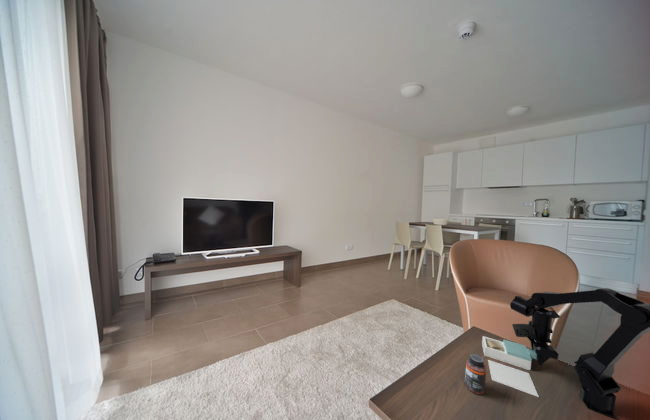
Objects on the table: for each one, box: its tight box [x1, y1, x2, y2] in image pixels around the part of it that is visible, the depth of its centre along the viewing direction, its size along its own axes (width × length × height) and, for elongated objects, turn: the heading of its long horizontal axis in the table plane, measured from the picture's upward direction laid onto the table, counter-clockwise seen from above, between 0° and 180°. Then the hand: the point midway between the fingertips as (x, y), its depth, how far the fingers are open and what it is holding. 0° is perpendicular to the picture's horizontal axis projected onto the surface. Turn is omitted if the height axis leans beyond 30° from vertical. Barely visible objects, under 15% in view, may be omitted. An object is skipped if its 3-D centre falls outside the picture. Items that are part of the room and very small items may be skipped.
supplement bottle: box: [464, 353, 487, 395], centre depth 79 cm, size 6×6×11 cm
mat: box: [487, 359, 539, 398], centre depth 85 cm, size 13×12×1 cm
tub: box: [481, 335, 532, 371], centre depth 96 cm, size 15×9×4 cm, turn 60°
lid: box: [502, 338, 537, 362], centre depth 93 cm, size 12×9×2 cm
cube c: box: [487, 340, 503, 352], centre depth 98 cm, size 4×4×4 cm
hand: (536, 359), depth 91 cm, fingers open, 6 cm apart
